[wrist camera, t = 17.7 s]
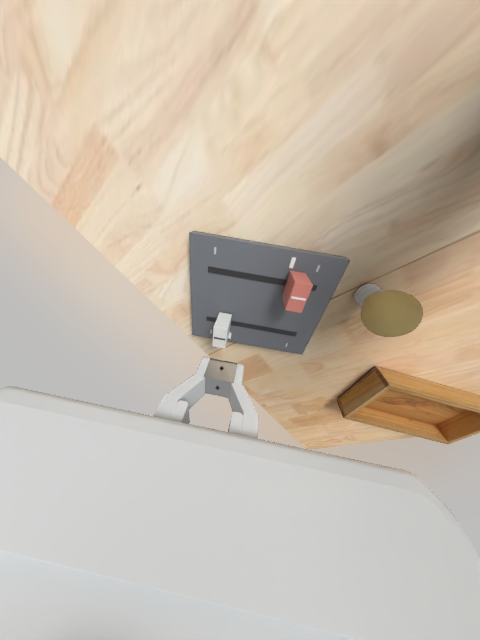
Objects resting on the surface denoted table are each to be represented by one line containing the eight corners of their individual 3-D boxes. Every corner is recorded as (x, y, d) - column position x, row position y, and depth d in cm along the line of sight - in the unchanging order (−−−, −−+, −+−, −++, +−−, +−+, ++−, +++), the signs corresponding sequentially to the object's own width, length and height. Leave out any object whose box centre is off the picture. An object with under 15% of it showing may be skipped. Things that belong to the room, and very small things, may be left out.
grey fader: (231, 314, 32) (227, 330, 28) (229, 332, 35) (225, 349, 31) (219, 312, 32) (213, 327, 28) (217, 330, 35) (212, 346, 31)
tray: (489, 396, 41) (518, 421, 36) (431, 423, 49) (448, 446, 45) (374, 362, 39) (389, 384, 34) (335, 396, 47) (343, 418, 43)
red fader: (305, 273, 26) (313, 285, 22) (296, 298, 29) (301, 313, 25) (290, 270, 26) (295, 282, 22) (282, 295, 29) (285, 310, 25)
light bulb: (382, 304, 30) (427, 342, 22) (343, 311, 32) (371, 348, 24) (389, 270, 27) (445, 299, 19) (345, 279, 28) (378, 310, 20)
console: (344, 256, 26) (350, 260, 25) (300, 347, 38) (302, 354, 36) (193, 230, 27) (188, 232, 25) (195, 329, 38) (192, 335, 36)
